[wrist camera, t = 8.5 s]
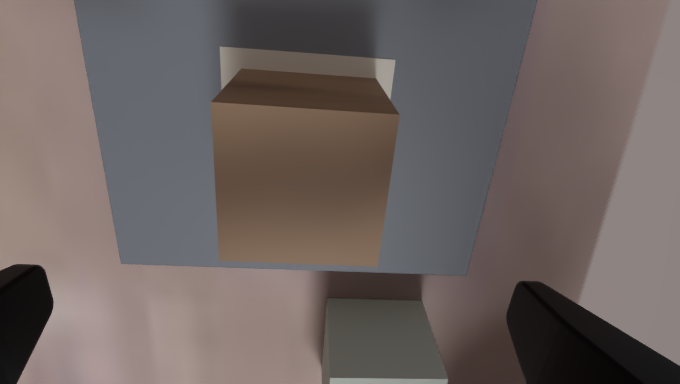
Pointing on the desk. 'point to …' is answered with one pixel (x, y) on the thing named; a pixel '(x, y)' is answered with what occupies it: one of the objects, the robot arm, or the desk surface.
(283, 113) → the walnut block
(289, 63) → the blueprint board
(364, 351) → the sage block
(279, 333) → the desk surface
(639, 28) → the desk surface
